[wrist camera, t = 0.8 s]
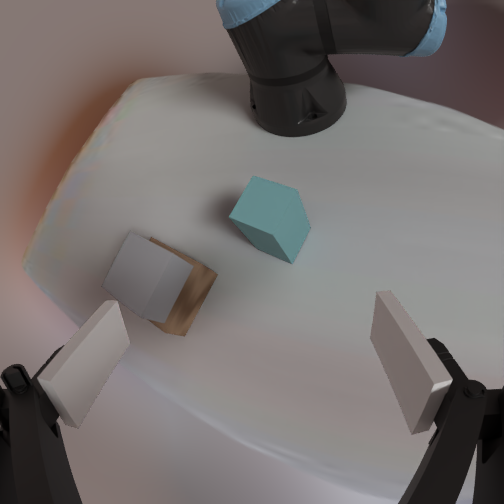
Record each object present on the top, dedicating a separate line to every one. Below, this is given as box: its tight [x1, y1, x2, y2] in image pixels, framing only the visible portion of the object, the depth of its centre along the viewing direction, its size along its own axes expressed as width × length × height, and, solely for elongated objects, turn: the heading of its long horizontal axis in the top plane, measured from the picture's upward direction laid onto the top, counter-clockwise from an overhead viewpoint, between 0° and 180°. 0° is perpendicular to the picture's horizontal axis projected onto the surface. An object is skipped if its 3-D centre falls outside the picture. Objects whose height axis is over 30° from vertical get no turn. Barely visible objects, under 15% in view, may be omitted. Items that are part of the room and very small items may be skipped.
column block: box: [229, 176, 311, 264], centre depth 33 cm, size 5×5×9 cm
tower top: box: [101, 231, 194, 323], centre depth 33 cm, size 8×8×4 cm
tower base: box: [148, 237, 218, 336], centre depth 37 cm, size 9×9×4 cm
